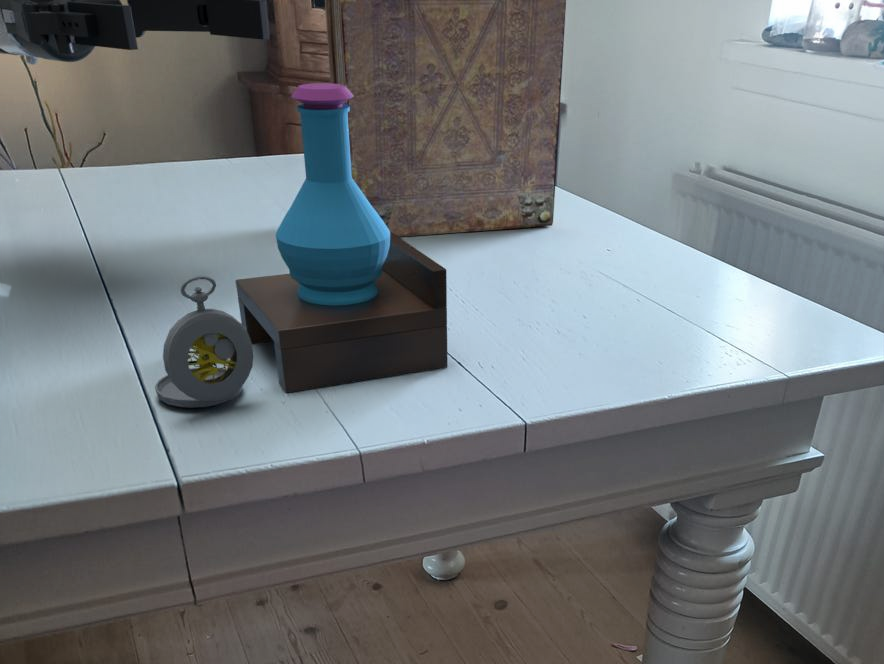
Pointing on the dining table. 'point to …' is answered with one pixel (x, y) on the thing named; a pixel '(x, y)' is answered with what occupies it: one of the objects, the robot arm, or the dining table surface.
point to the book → (451, 109)
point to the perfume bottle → (331, 209)
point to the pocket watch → (204, 356)
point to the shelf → (353, 324)
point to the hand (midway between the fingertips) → (201, 23)
